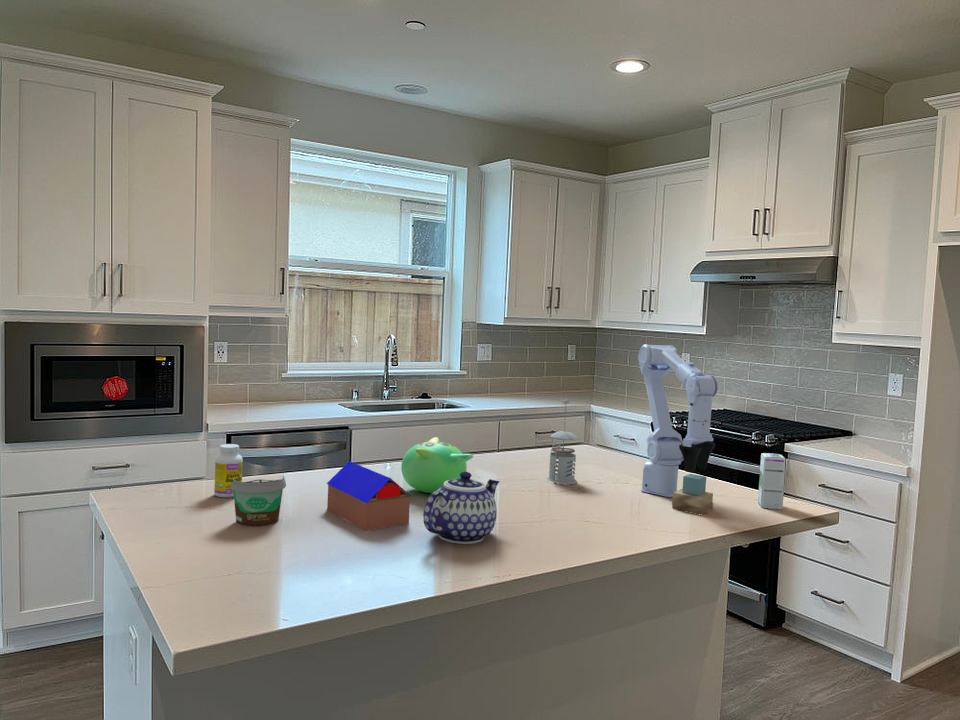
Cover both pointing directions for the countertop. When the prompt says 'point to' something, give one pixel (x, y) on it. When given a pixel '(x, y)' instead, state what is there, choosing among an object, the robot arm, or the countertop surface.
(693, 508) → the slab bottom
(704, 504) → the slab top
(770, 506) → the syrup box
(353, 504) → the house
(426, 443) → the toy bird
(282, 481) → the food container
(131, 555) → the countertop surface
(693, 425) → the robot arm
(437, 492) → the teapot
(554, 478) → the french press
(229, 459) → the supplement bottle
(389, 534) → the countertop surface
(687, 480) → the teal cube
